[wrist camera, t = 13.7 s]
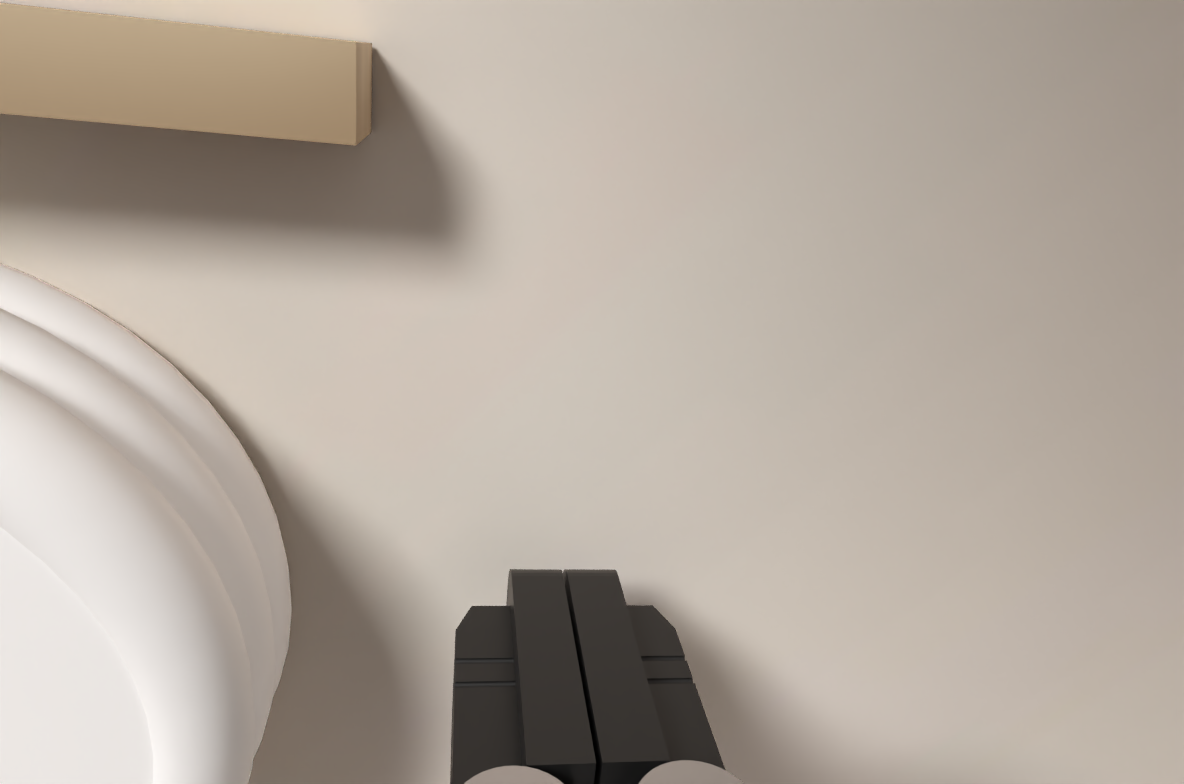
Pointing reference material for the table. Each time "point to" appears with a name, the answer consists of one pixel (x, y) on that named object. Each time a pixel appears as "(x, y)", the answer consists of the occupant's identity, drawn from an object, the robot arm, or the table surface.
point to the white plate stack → (126, 561)
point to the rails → (183, 76)
